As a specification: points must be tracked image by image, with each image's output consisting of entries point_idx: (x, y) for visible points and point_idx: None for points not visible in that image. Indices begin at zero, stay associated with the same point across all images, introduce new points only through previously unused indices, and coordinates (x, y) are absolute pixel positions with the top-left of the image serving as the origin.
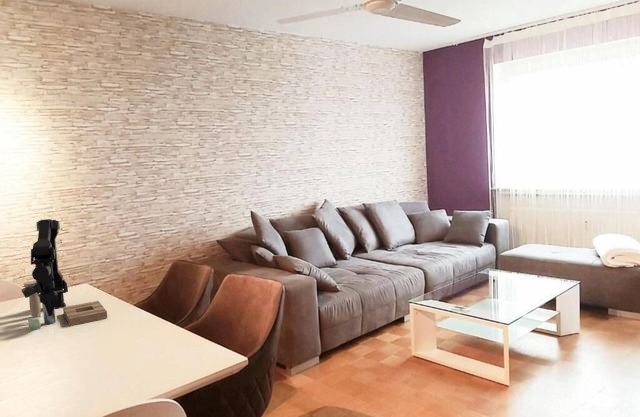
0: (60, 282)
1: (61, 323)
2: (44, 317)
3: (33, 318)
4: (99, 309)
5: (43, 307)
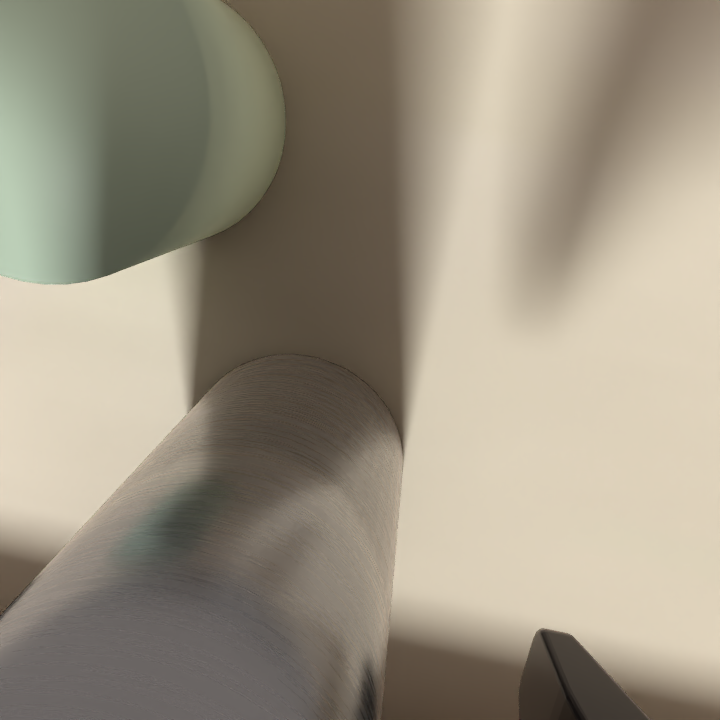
0: None
1: None
2: (204, 420)
3: (41, 89)
4: None
5: (39, 620)
